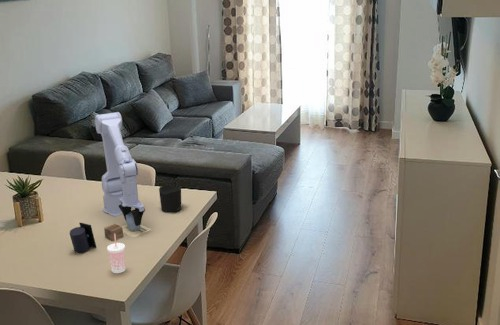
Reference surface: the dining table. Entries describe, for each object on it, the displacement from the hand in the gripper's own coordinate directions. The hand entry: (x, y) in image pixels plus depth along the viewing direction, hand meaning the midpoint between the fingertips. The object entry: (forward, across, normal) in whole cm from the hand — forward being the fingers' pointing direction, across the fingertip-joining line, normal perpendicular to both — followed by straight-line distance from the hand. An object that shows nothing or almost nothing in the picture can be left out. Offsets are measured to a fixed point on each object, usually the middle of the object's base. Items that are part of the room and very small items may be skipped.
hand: (133, 222), depth 222 cm
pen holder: (+3, -4, +23) cm, 24 cm away
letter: (+3, 0, 0) cm, 3 cm away
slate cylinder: (+3, 0, 0) cm, 3 cm away
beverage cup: (+3, +22, -23) cm, 32 cm away
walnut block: (+3, 0, -9) cm, 10 cm away
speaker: (+3, 0, -23) cm, 23 cm away
